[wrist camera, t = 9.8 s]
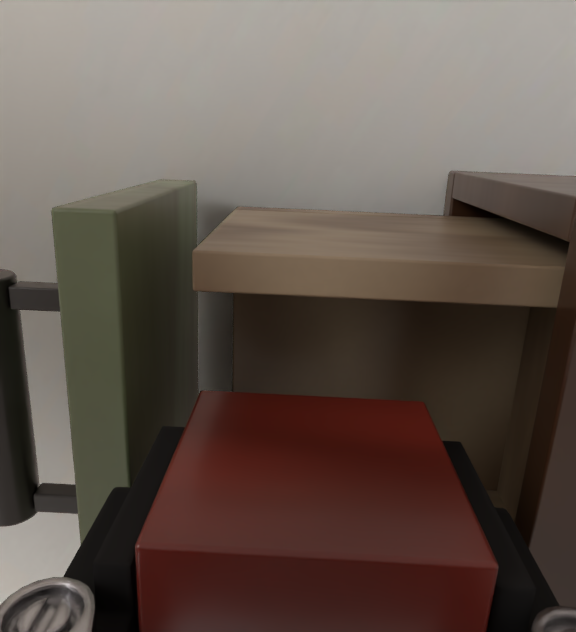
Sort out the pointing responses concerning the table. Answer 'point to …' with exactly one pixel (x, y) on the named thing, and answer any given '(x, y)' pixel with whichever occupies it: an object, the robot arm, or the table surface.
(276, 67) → the table surface
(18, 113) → the table surface
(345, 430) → the block
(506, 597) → the robot arm
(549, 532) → the cabinet
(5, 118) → the table surface
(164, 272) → the drawer
